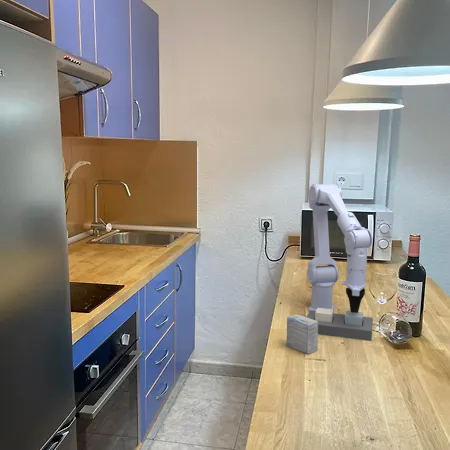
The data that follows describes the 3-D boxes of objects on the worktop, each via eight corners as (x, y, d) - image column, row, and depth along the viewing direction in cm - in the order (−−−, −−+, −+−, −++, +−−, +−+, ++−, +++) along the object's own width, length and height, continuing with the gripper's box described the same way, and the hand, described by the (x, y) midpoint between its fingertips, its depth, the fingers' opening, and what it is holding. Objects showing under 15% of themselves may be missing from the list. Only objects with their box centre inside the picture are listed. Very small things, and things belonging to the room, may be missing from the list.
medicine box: (317, 350, 130) (319, 321, 129) (307, 355, 127) (308, 324, 126) (296, 342, 136) (296, 313, 135) (285, 346, 133) (286, 317, 132)
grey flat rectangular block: (309, 319, 154) (309, 310, 154) (372, 326, 148) (372, 317, 148) (303, 332, 143) (303, 322, 143) (371, 340, 137) (371, 331, 136)
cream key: (317, 316, 150) (317, 307, 149) (333, 318, 148) (333, 309, 148) (315, 321, 145) (315, 312, 145) (331, 323, 144) (331, 314, 143)
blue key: (346, 319, 147) (346, 310, 147) (362, 321, 145) (363, 312, 145) (344, 325, 142) (345, 315, 142) (361, 327, 141) (362, 317, 140)
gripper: (343, 262, 149) (341, 303, 151) (342, 273, 135) (340, 318, 137) (366, 264, 147) (364, 305, 149) (367, 275, 134) (365, 320, 136)
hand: (354, 311), depth 143 cm, fingers closed
